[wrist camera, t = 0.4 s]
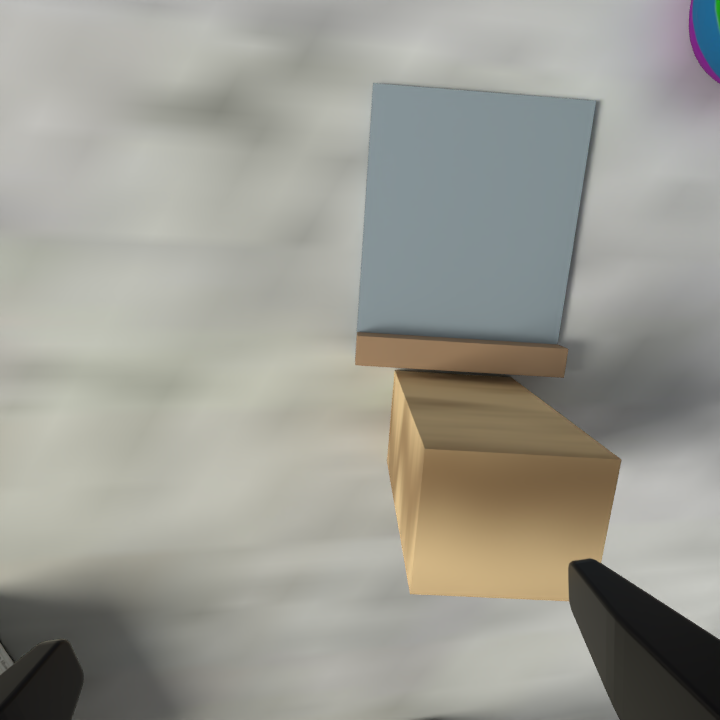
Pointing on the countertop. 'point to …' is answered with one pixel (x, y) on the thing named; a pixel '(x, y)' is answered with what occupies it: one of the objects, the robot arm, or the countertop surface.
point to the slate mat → (469, 229)
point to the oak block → (493, 488)
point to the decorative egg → (706, 35)
